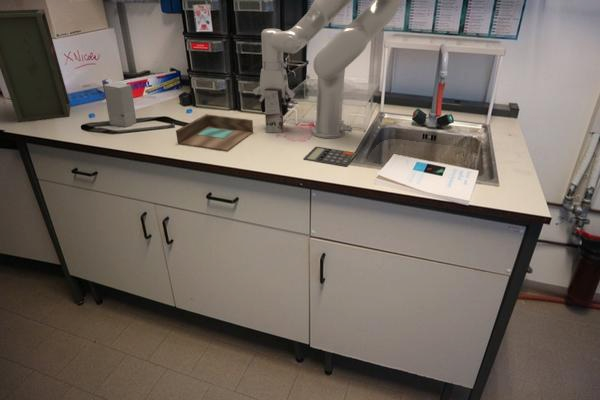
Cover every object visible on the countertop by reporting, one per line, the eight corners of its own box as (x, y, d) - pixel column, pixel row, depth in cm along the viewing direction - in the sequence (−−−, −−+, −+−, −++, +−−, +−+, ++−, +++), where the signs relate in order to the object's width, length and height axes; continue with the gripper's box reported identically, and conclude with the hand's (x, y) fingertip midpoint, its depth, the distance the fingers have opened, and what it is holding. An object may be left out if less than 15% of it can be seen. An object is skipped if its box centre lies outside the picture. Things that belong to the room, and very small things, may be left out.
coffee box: (282, 132, 157) (281, 90, 149) (265, 132, 157) (263, 90, 149) (283, 125, 165) (283, 84, 157) (267, 124, 165) (266, 84, 157)
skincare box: (109, 125, 164) (100, 85, 156) (122, 119, 170) (114, 81, 162) (126, 127, 161) (117, 87, 153) (139, 122, 167) (131, 83, 159)
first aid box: (23, 110, 181) (-10, 10, 161) (70, 105, 188) (43, 9, 168) (18, 122, 166) (-19, 14, 147) (69, 116, 173) (40, 13, 154)
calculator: (346, 165, 130) (303, 158, 135) (346, 168, 130) (303, 160, 135) (357, 152, 139) (315, 145, 144) (356, 154, 139) (315, 148, 144)
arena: (253, 132, 157) (252, 120, 154) (227, 151, 140) (226, 137, 138) (207, 126, 163) (206, 114, 160) (177, 143, 146) (175, 130, 144)
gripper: (299, 65, 149) (299, 112, 158) (255, 62, 155) (258, 107, 163) (291, 69, 143) (291, 118, 152) (246, 65, 149) (249, 113, 157)
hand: (274, 112), depth 158 cm, fingers closed on coffee box, 7 cm apart
